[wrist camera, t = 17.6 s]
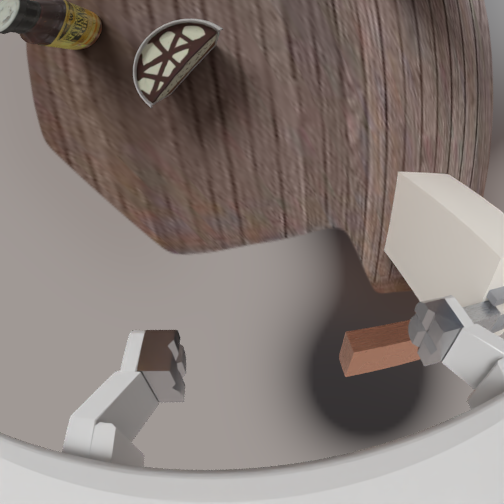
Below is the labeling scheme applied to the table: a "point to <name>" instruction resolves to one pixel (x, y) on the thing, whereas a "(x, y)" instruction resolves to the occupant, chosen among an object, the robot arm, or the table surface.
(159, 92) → the half round cake
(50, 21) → the sauce bottle
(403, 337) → the knife
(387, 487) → the robot arm
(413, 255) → the stand
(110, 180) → the table surface
